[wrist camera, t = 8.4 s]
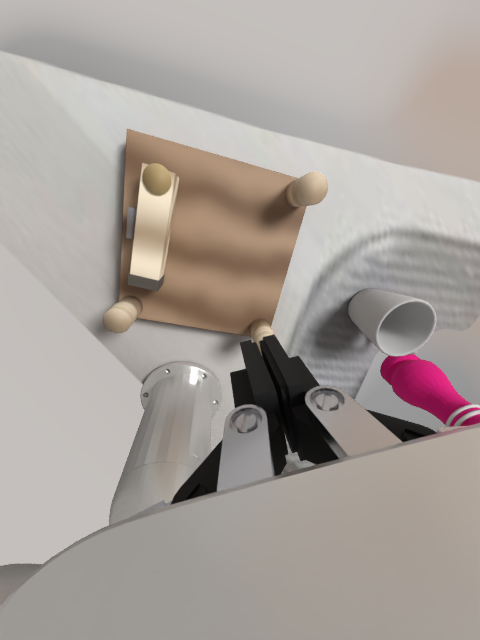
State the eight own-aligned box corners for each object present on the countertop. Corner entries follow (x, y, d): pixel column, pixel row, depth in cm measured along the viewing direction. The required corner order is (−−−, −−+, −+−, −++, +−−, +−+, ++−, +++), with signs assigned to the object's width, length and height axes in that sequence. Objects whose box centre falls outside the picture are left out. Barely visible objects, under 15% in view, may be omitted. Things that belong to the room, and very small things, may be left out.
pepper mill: (406, 384, 44) (546, 504, 25) (370, 381, 43) (490, 504, 24) (424, 349, 41) (595, 455, 23) (386, 345, 40) (534, 452, 22)
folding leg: (149, 165, 25) (141, 157, 22) (181, 175, 26) (176, 169, 23) (136, 277, 29) (127, 284, 26) (163, 284, 30) (157, 291, 27)
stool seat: (134, 136, 26) (105, 106, 19) (305, 185, 30) (333, 175, 23) (125, 308, 33) (101, 331, 26) (263, 331, 37) (275, 357, 30)
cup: (375, 270, 35) (422, 285, 27) (404, 317, 38) (453, 343, 30) (331, 304, 36) (364, 328, 28) (363, 347, 40) (400, 378, 32)
